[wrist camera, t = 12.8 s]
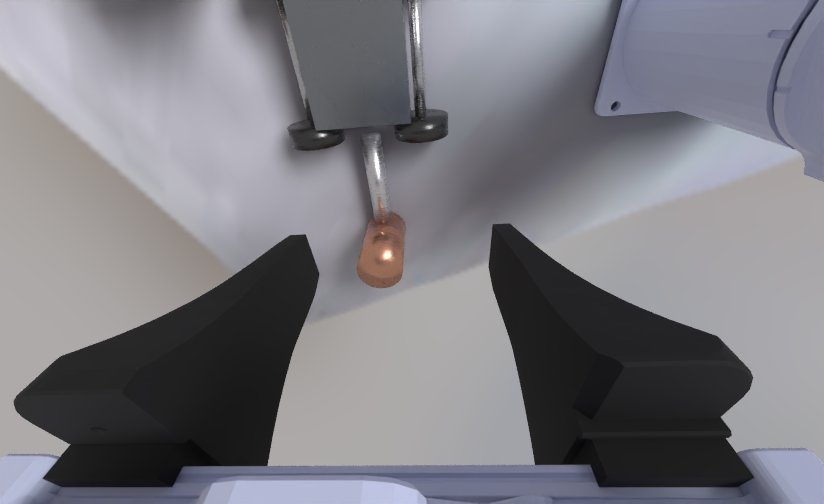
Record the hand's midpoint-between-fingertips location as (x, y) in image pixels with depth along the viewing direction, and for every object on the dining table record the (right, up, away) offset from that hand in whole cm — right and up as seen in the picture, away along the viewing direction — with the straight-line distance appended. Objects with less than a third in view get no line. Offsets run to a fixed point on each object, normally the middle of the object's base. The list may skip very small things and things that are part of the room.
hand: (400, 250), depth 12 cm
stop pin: (-2, +4, +9) cm, 10 cm away
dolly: (-2, +11, +4) cm, 12 cm away
